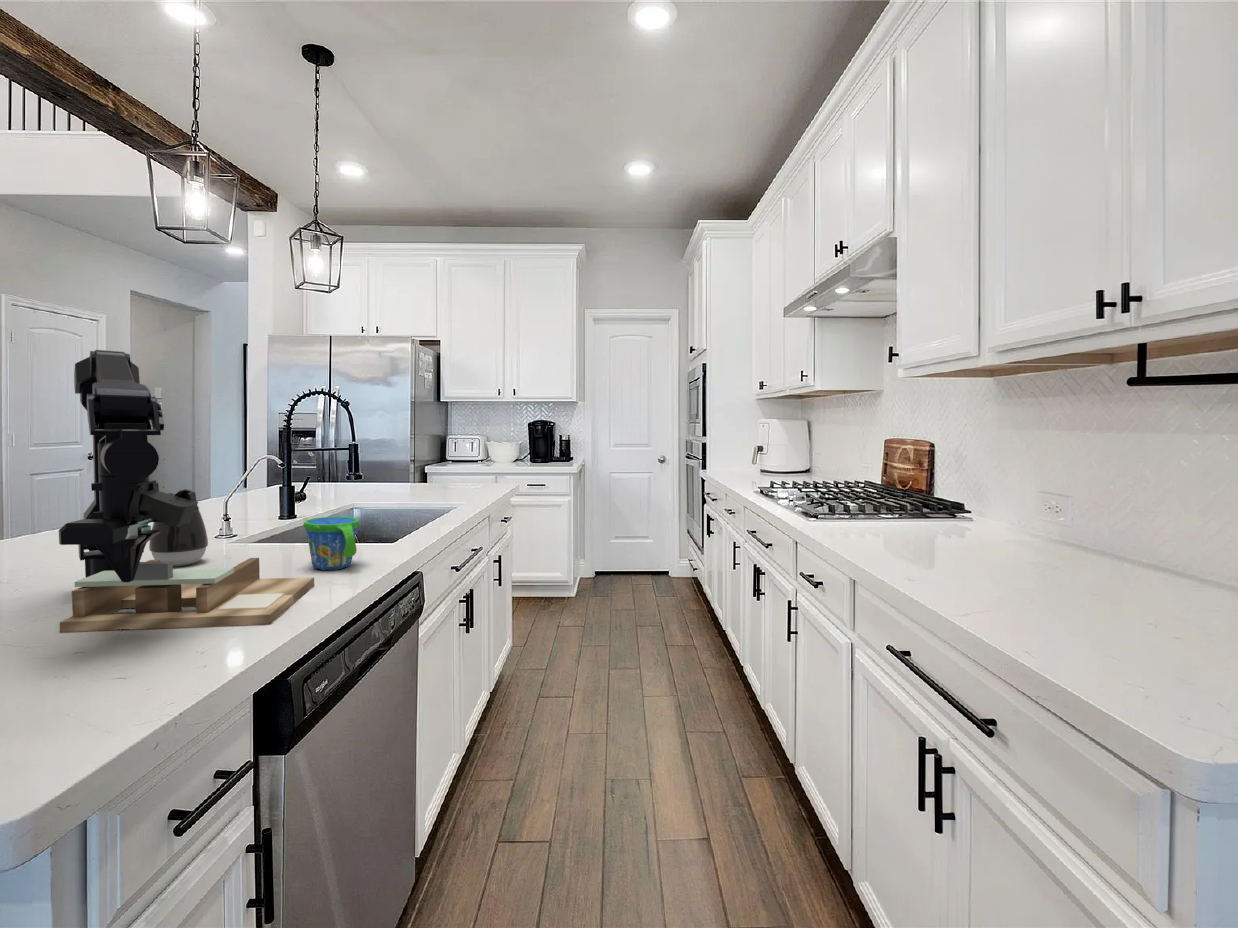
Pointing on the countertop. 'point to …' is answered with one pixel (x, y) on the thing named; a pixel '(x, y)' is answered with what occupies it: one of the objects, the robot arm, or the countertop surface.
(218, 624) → the puzzle board
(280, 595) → the cream pad
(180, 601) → the walnut block
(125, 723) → the countertop surface
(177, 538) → the dark grey rounded dome
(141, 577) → the sliding cover
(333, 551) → the snack cup
